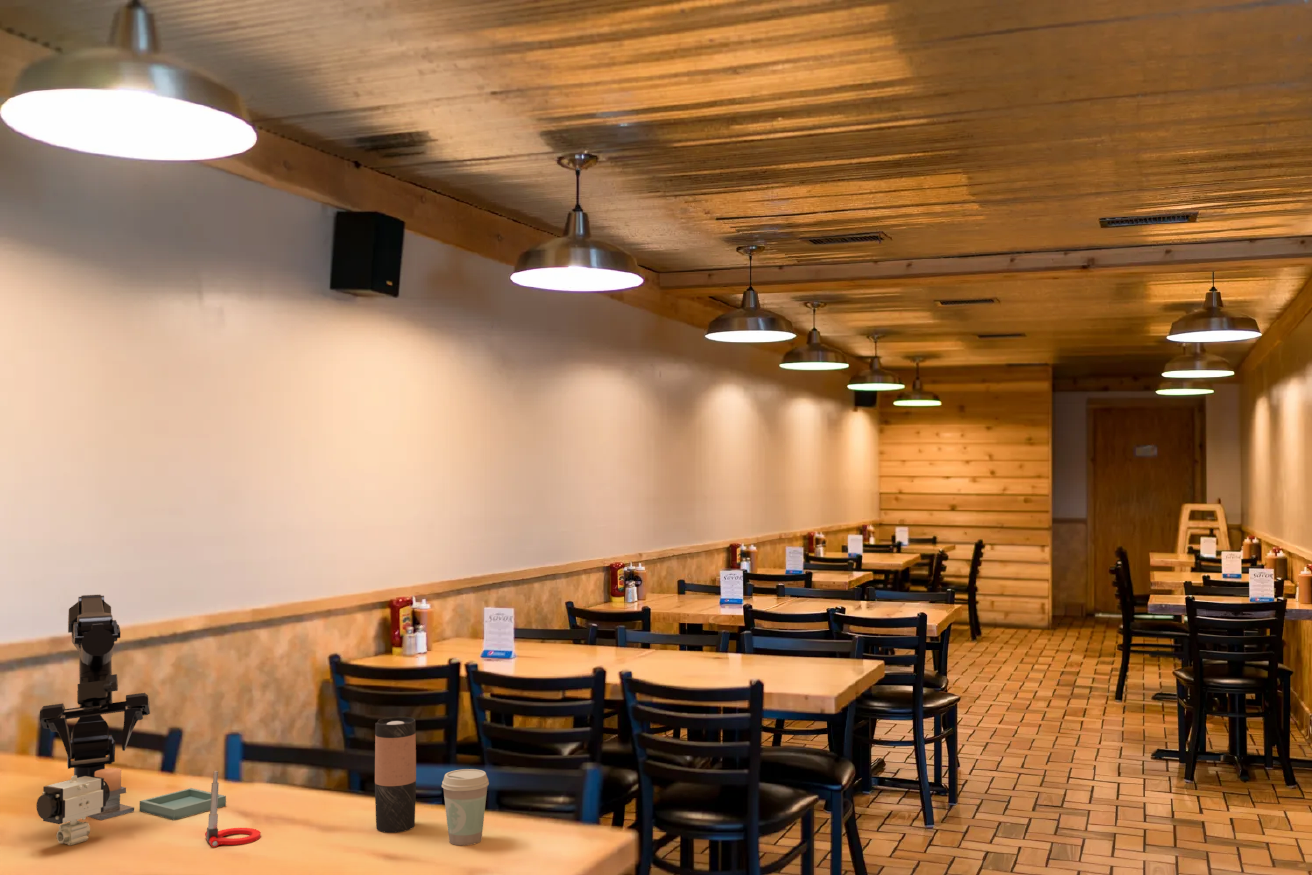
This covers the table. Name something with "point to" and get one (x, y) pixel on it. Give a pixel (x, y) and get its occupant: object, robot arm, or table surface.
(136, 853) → the table surface
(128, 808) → the stud fixture
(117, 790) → the tan cylindrical plug
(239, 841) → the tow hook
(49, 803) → the pneumatic valve
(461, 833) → the coffee cup
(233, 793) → the table surface
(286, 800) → the table surface
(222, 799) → the bin
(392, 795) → the travel mug
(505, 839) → the table surface
